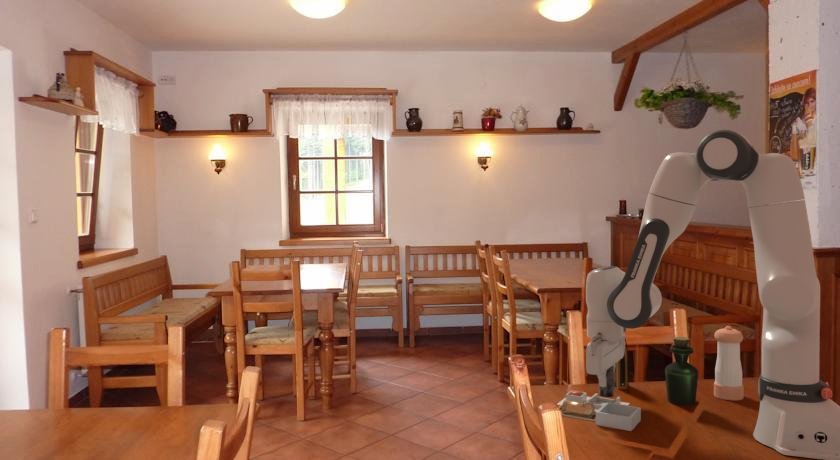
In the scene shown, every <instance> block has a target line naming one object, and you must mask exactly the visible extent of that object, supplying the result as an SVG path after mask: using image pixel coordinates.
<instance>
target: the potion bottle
mask: <svg viewBox="0 0 840 460" xmlns="http://www.w3.org/2000/svg"><path fill="white" fill-rule="evenodd" d="M672 338H673V342H674V345H671V346H670V348H669V351H668V352H670V353H672V354H673V356H674V360H675V361H673V362H671V363H669V364H667V365H666V366H665V369H664V375H665V376H664V377H665V385H666V387H665V388H666V396H667V402H669V403H670V404H673V405H676V406H684V407H685V406H693V405H696V401H697V400H696V399H697V392H698V391H697V390H698V381H699V380H698V379H699V370H698V369H697V367H696V366H694V365H693V364H691V363H690V362H688V360H689V357H690V354H691V355H692V354H693V353H694V348H693V347H692V346H690V345H689V341H690V338H689V337H686V336H674V337H672Z"/></svg>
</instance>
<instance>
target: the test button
mask: <svg viewBox="0 0 840 460" xmlns="http://www.w3.org/2000/svg"><path fill="white" fill-rule="evenodd" d="M570 391H571V390H570ZM582 392H583V391H581V390H578V389H577V390H576V389H575V390H573V391H571V395H574V396H581V395H582Z"/></svg>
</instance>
